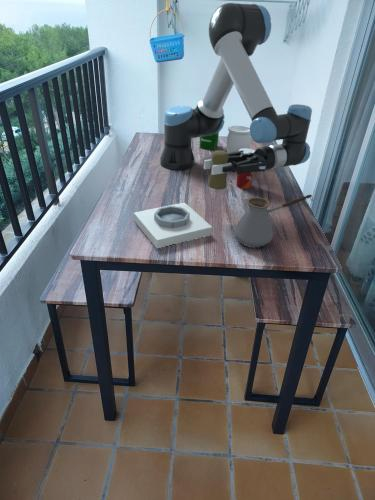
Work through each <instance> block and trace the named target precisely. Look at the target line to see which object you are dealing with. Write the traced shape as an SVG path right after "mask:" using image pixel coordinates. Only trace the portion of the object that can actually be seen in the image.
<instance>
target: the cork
mask: <svg viewBox="0 0 375 500" xmlns="http://www.w3.org/2000/svg"><path fill="white" fill-rule="evenodd" d="M228 158H229V156H228V153H227V151H225V150H215V151H214V150H213V153H212V154H211V159H212V161H213V164H212V166H213V165H219V164H225V163H227V161H228ZM211 173H212V168H211V169H210V173H209V174H210V175H209V178H208V181H207V186H208V187H209V188H210V189H213V190H224V189H226V188H227V187H228V183H227V181H228V180H227V173H222V174H216V175H212V174H211Z"/></svg>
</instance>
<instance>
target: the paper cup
mask: <svg viewBox="0 0 375 500" xmlns="http://www.w3.org/2000/svg"><path fill="white" fill-rule="evenodd" d="M241 150H243V151H244V152H243V153H244V154H247V153H254V152H255V150H256V149H253V148H250V147H249V148H243V149H240V150H239V151H241ZM241 171H242V170H241ZM254 173H255V172H251V173H245V174H237V173H236V181H235V182H236V183H235V185H236V187H237V188H239V189H241V190H247V189H250V188H251V186H252V181H253V177H254Z"/></svg>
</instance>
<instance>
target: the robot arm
mask: <svg viewBox="0 0 375 500" xmlns="http://www.w3.org/2000/svg"><path fill="white" fill-rule="evenodd" d="M270 14H271V13H270V12H269V11H268V9H267V8H266V7H265V6H263V5H260V4H256V3H236V2H227V3H224V4H222V5H220V6H218V7H217V8H216V9H215V11H214V12H213V13H212V15H211V17H210V21H209V24H208V37H209V40H210V41H209V43H210V45H211V47H212V49H213V52H214V53H215V55H216V56H218V57H220V58H219V61H218V64H217V66H216V69H215V71H214V74H213V75H212V78H211V80H210V82H209V85H208V87H207V90H206V92H205V94H204V97H203V98H201V99H199V100H198V102H197V104H196V107H195V108H192V107H191V106H189V105H176V106H172V107H169V108H168V109H167V110H165V112H164V117H163V118H164V120H163V125H164V130H163V131H164V136H163V137H164V146H163V150H162V153H161V156H160V166H162V167H164V168H167V169H171V170H186V169H187V170H188V169H191V168H193V167H194V166H195V164H196V163H195V162H196V159H195V156H194V152H193V148H192V142H193V141H192V139H194V138H195V139H196V138H200V137H203V136H211V135H214V134H217V133H218V132H219V133H220V132H221V130H223V127H224V124H225V113H224V112H225V111H224V106H225V104H226V101H227V99H228V97H229V95H230V92H231V91H232V89H233V87H235V89H236V91H237V94H238V95H239V97H240V99H241V101H242V103H243V106H244V107H245V109H246V112H247V114H248V115H249V118H250V119H251V122H250V125H249V128H250V137H251V139H252V141H253V142H255V143H257V144H269V143H272V142H275V141H280V140H282V143H279V144H272V145H267V146H259V147H257V148H256V149H254V150H255V152H254V153H247V154H244V153H243V152H244V151H243V150H241V151H238V152H233V153H228V156H229V158H228V161H227V163H225V164H219V165H213V166H212V164H213V161H212V158H211V159H204V161H203V170H211V168H212V173H211V172H210V173H211V174H212V175H216V174H222V173H226V174H227V173H236V175H237V174H245V173H251V172H254V173H256V172H257V173H258V172H265V171H268V170H276V169H278V168H283V167H284V168H285V167H290V166H298V165H301V164H304V163H306V162H307V161H308V160H309V159H310V156H311V146H310V145H309V144H308V142H307V141H306V140H307V138H308V133H309V128H310V124H311V122H312V120H311V117H312V113H313V109H312V107H310V106H309V105H305V104H298V103H297V104H290V105H289V107H288V108H287V112H286V113H283V114H278V113H277V112H276V111H277V110H276V109H275V107H274V105H273V104H272V101H271V99H270V97H269V95H268V94H267V91H266V90H265V88H264V87H265V86H264V85H263V83H262V81H261V79H260V77H259V74H258V73H257V71H256V69H255V66H254V65H253V62H252V61H251V59H250V57H251V56H253V54H254V53H255V51H256V48H257V46H261V45H263V44H265V43H266V42H267V41H268V39H269V37H270V34H271V33H272V32H271V30H272V19H271V15H270ZM241 170H242V171H241Z"/></svg>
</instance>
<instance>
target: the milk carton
mask: <svg viewBox="0 0 375 500" xmlns="http://www.w3.org/2000/svg"><path fill="white" fill-rule="evenodd" d="M219 134H220V132H218V133H217V134H214V135H211V136H203V137H199V148H200V149H203V148H204V150H209V149H210V150H211V151H214V148H215V149H216V148H217V147H218V143H219V136H220V135H219Z"/></svg>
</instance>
